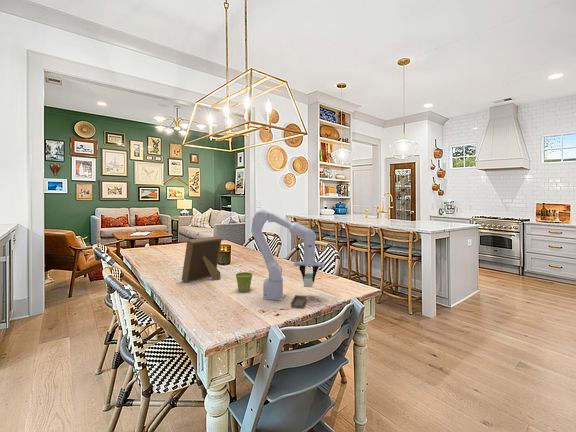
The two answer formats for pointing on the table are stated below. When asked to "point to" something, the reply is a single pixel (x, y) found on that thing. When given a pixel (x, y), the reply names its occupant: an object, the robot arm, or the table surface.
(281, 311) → the table surface
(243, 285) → the plant pot
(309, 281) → the teal rectangular brick
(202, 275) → the photo frame
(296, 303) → the grey rectangular tray
